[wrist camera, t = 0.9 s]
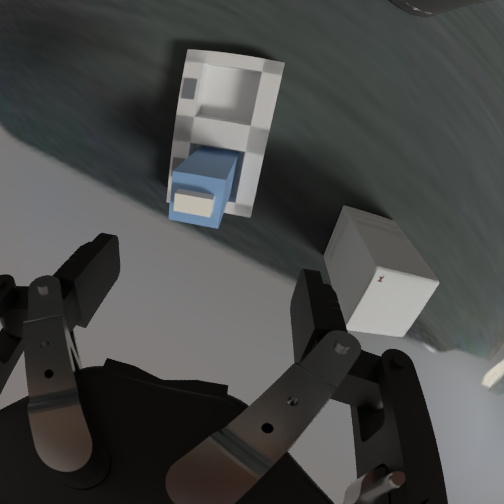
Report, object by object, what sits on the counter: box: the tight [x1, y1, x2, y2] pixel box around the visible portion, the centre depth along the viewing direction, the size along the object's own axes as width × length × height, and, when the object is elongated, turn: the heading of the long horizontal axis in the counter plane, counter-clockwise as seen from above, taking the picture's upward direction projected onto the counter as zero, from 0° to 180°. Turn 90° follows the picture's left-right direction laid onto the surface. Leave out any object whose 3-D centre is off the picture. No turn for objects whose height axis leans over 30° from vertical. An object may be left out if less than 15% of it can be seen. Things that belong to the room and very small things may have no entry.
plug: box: [169, 146, 239, 229], centre depth 25 cm, size 4×4×11 cm
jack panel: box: [167, 49, 285, 218], centre depth 27 cm, size 16×9×3 cm, turn 169°
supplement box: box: [324, 205, 439, 337], centre depth 29 cm, size 7×7×13 cm
